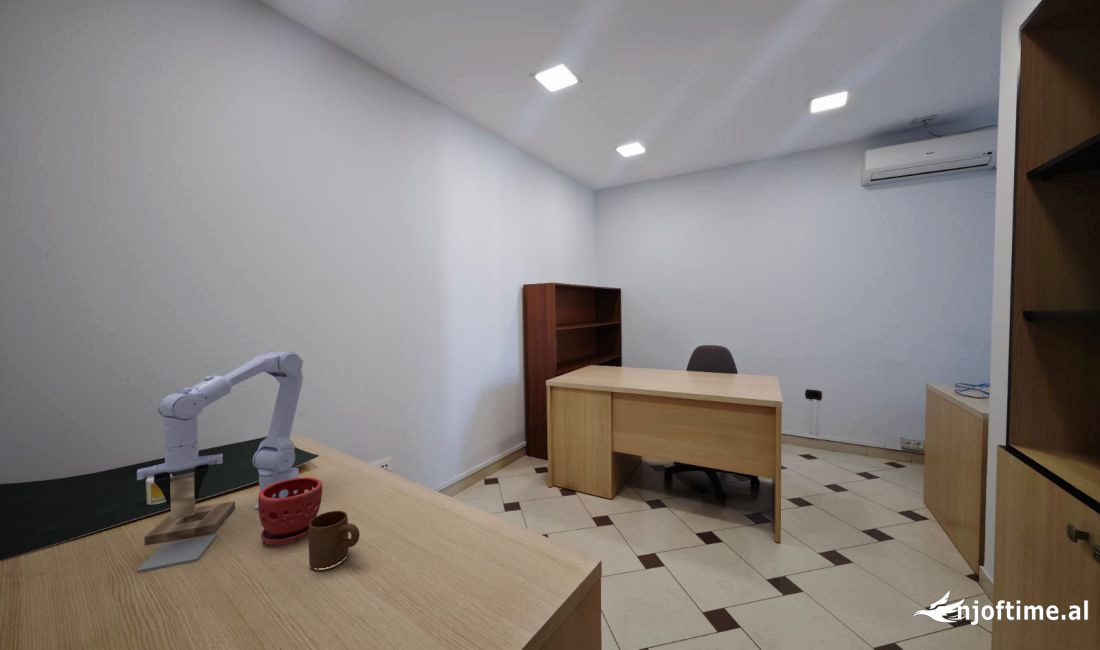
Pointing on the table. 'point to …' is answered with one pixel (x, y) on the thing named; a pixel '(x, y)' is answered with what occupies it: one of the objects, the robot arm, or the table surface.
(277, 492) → the plant pot
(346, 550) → the mug
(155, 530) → the brown square hole board
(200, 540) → the pad
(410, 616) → the table surface
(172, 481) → the maple plug
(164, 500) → the supplement bottle
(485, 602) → the table surface
